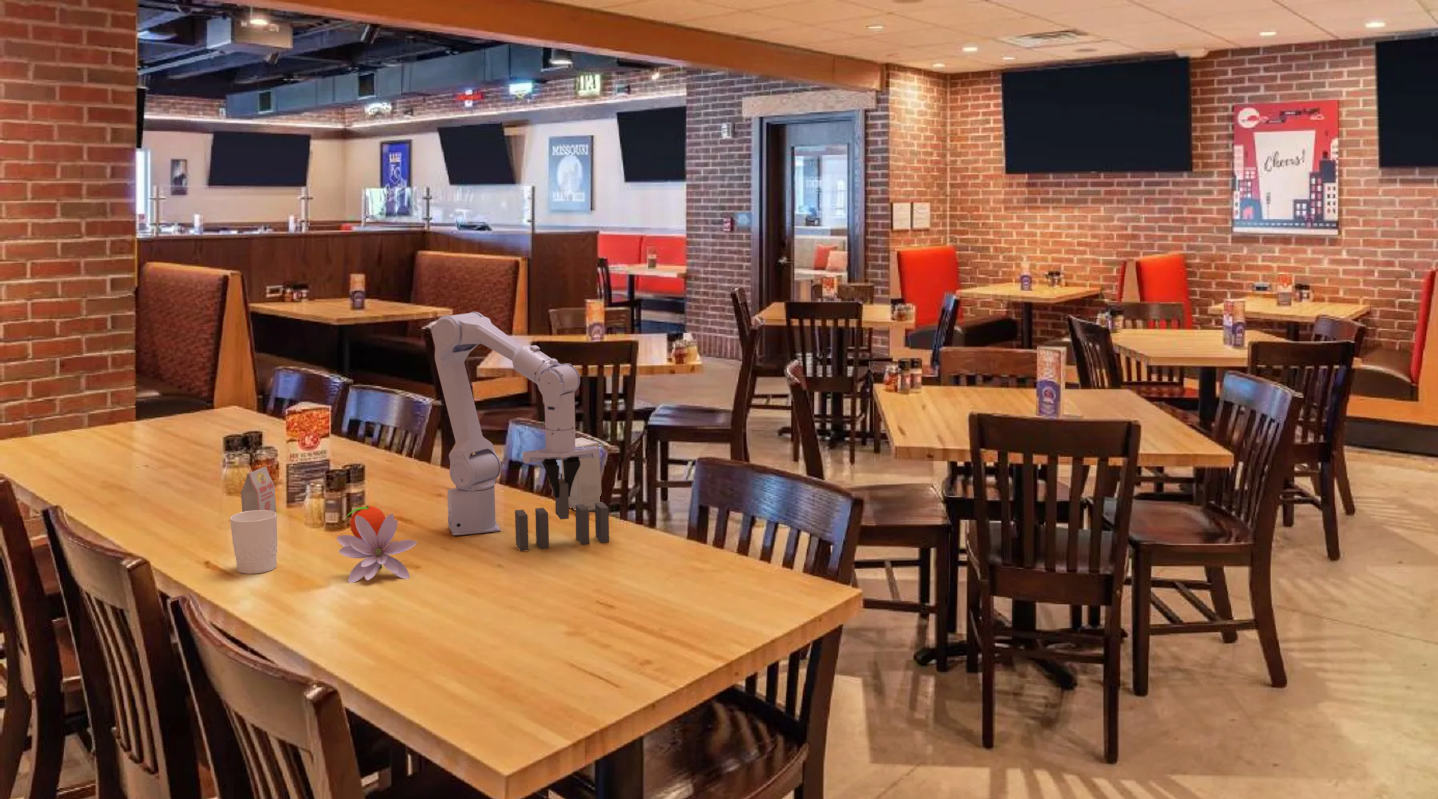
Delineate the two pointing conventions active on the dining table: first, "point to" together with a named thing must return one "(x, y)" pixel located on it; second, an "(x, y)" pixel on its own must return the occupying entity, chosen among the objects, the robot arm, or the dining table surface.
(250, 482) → the milk carton
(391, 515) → the water lily
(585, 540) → the tile
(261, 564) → the white cup
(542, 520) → the tile
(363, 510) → the tomato
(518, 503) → the dining table surface
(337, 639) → the dining table surface
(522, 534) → the tile
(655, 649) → the dining table surface
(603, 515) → the tile
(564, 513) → the tile
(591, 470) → the skincare box
